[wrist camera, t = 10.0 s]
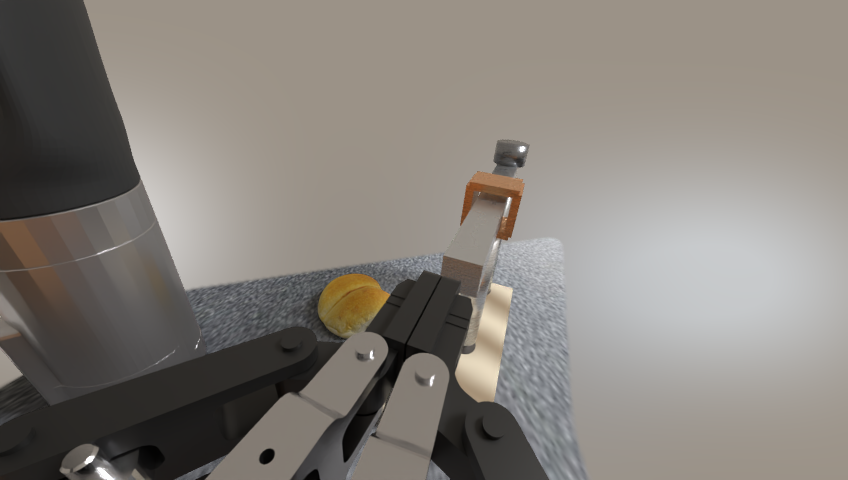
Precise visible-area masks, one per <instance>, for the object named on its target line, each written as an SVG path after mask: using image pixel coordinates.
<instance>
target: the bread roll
mask: <svg viewBox="0 0 848 480" xmlns="http://www.w3.org/2000/svg"><path fill="white" fill-rule="evenodd" d="M389 296H390V295H389V294H388V293H387V292H385V291H383V290H381V287H380V285H379V284H378V282H377V281H376V280H374V279H373V278H371V277H369V276H367V275H364V274H347V275H343V276H340V277H338V278H336V279H334V280H333V281H331V282H330V283H329V284H328V285H327V286H326V287H325V289H324V290H323V292H322V294H321V296H320V299H319V303H318V315H319V318H320V319H321V321H322V322H323V323H324V324H325V326H326V328H327V329H328V330H329V331H331V332H332V333H334V334H335V335H337V336H340V337H342V338H347V339H348V338H350V337H351V336H353V335H355V334H357V333H361V332H364V331H365V330H366V328H367V327H368V326H369V324H370V323H371V321H372V320H373V319H374V317H375V316H376V314H377V313H378V312H379V310H380V309H381V307H382V306H383V305H384V303H386V300H387V299H388V298H389Z"/></svg>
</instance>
